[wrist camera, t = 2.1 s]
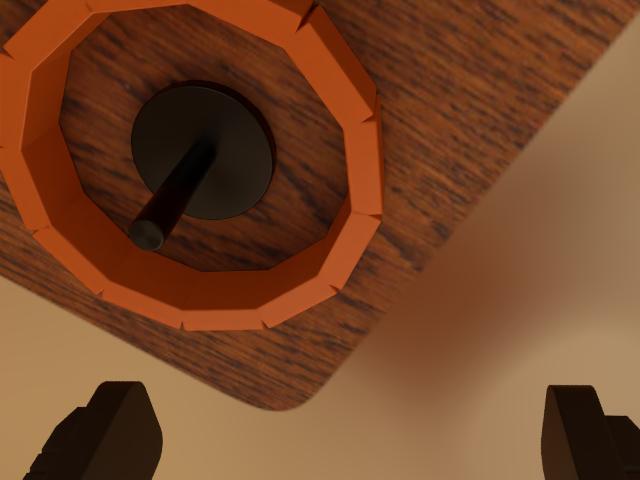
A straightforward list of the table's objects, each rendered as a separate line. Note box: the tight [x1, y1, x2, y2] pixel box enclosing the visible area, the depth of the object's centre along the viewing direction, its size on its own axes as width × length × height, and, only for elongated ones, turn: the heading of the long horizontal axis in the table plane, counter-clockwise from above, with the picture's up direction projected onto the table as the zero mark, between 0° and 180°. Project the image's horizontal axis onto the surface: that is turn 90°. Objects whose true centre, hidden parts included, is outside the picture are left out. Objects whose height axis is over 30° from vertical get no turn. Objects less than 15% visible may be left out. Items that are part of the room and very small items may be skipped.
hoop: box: [0, 0, 385, 331], centre depth 23 cm, size 15×15×3 cm
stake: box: [129, 80, 276, 251], centre depth 22 cm, size 6×6×7 cm
